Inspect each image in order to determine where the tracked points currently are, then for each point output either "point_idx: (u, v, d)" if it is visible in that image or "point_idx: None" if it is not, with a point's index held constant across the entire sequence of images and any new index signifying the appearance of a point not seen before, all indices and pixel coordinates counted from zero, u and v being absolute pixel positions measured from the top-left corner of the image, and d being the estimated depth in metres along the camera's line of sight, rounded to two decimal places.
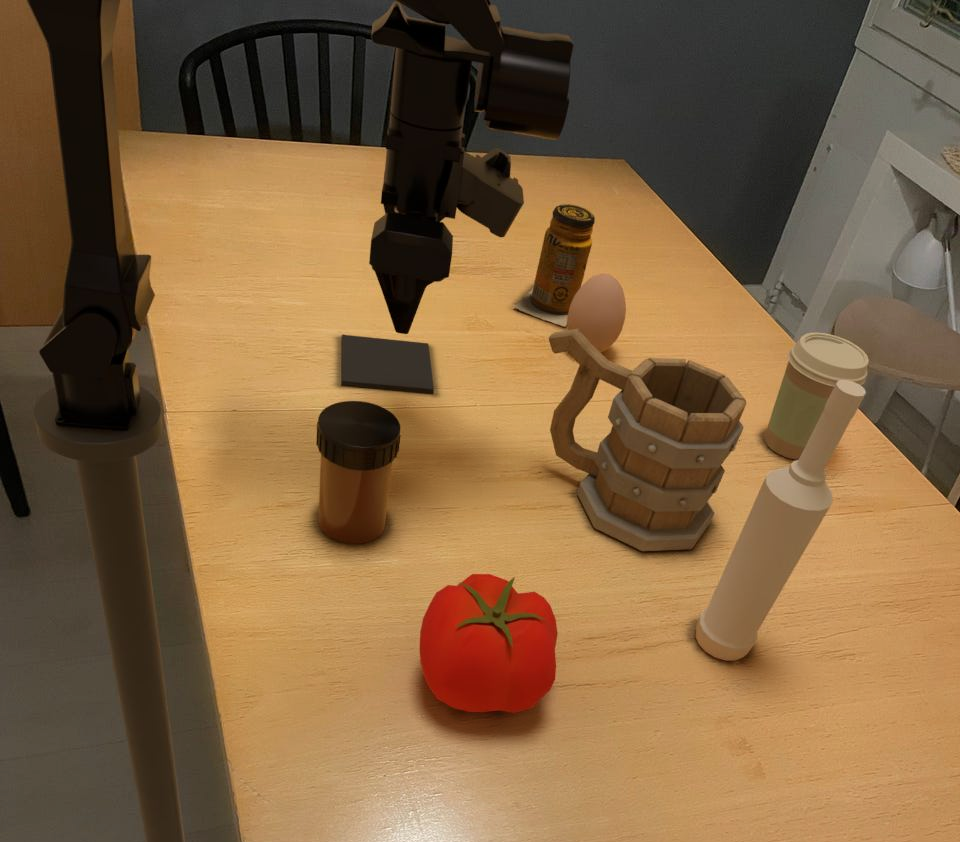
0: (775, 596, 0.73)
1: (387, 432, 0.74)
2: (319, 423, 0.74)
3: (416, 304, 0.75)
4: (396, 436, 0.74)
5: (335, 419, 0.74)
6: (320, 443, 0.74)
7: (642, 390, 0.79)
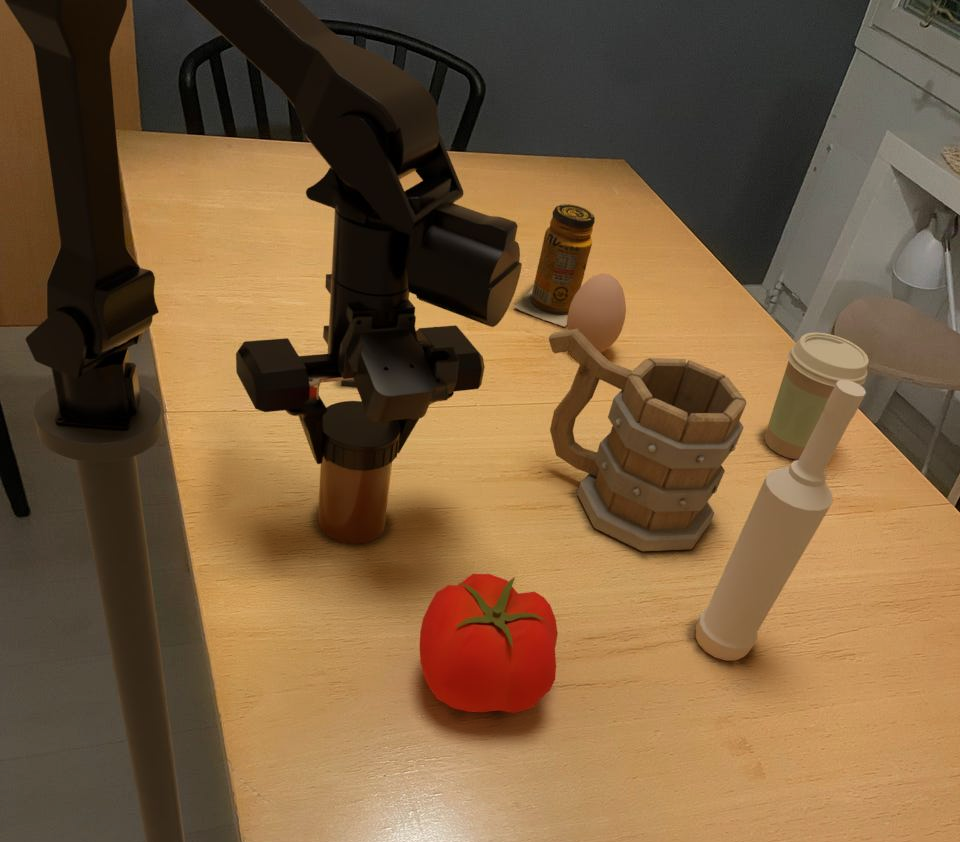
0: (775, 596, 0.73)
1: (387, 432, 0.74)
2: None
3: (309, 435, 0.72)
4: (396, 436, 0.74)
5: (335, 419, 0.74)
6: None
7: (642, 390, 0.79)
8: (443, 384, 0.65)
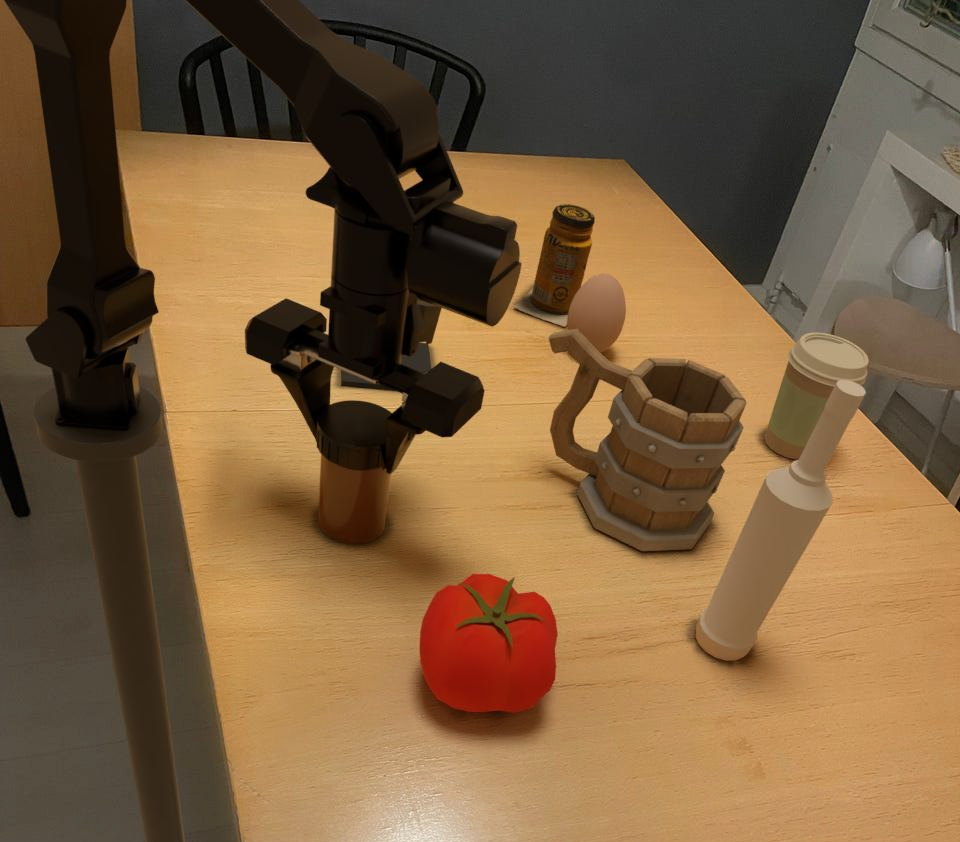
0: (775, 596, 0.73)
1: (351, 406, 0.76)
2: None
3: (413, 438, 0.74)
4: (350, 400, 0.77)
5: (371, 435, 0.73)
6: None
7: (642, 390, 0.79)
8: None
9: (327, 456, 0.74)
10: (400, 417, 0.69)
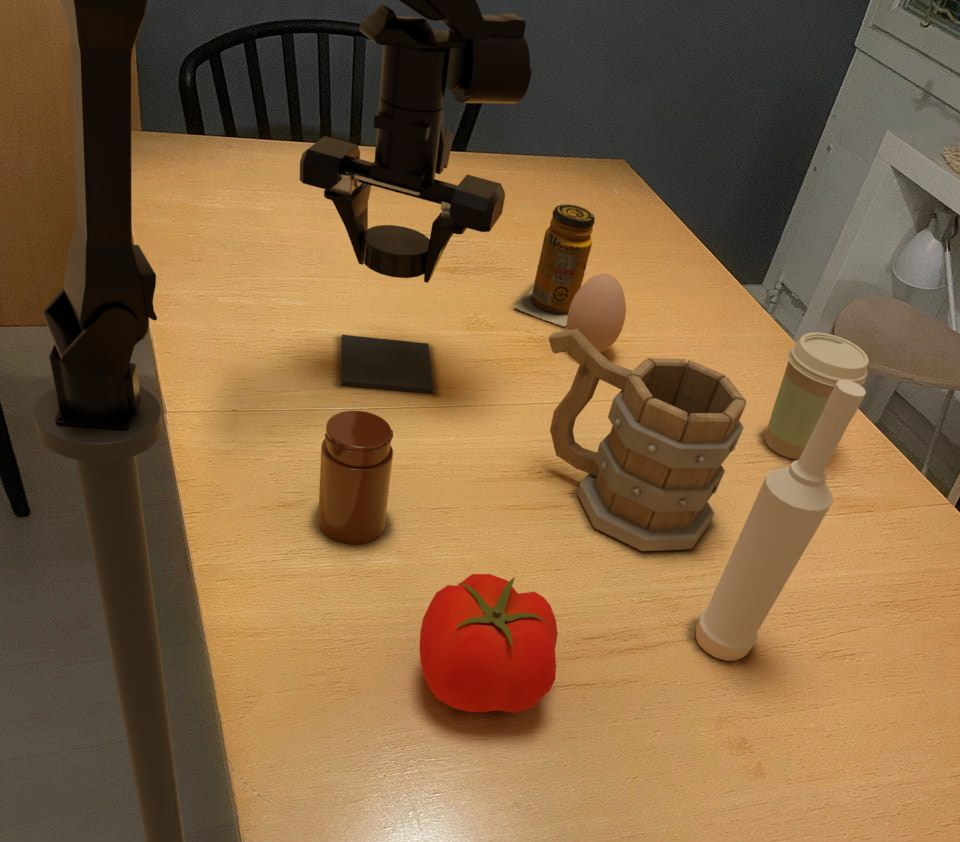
0: (775, 596, 0.73)
1: (386, 228, 0.90)
2: (427, 250, 0.89)
3: None
4: (383, 225, 0.91)
5: (412, 247, 0.88)
6: None
7: (642, 390, 0.79)
8: None
9: (377, 269, 0.88)
10: (442, 222, 0.85)
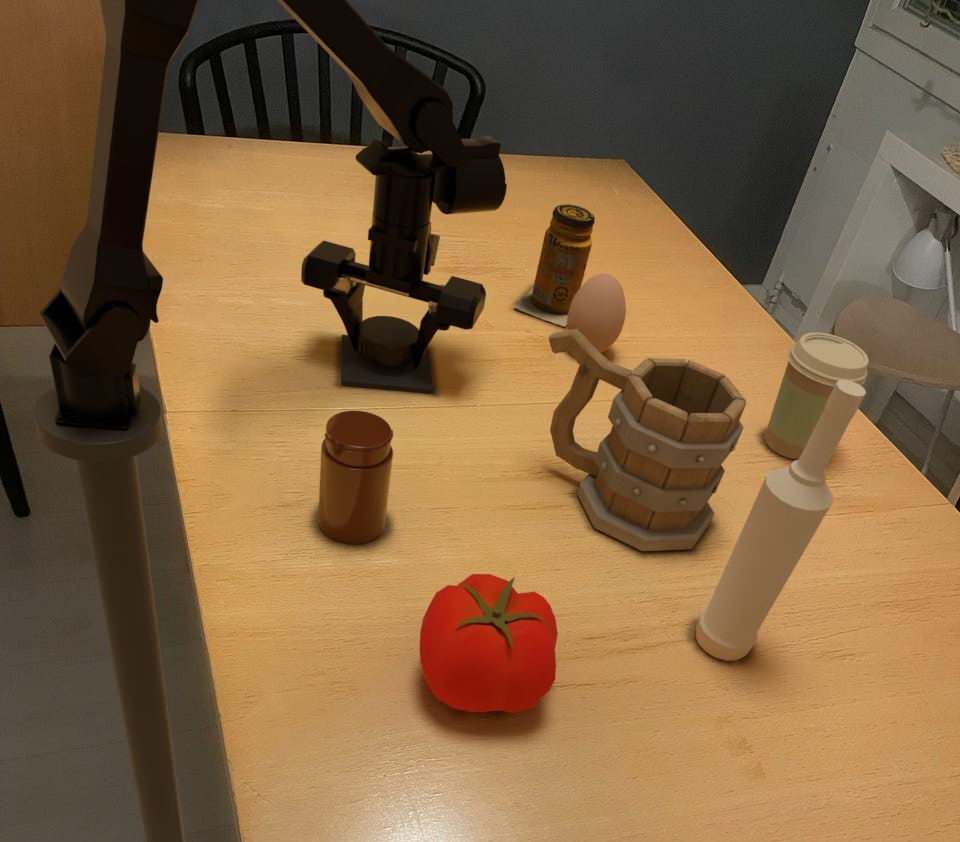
0: (775, 596, 0.73)
1: (379, 319, 1.00)
2: (416, 341, 0.98)
3: None
4: (376, 316, 1.01)
5: (402, 338, 0.98)
6: None
7: (642, 390, 0.79)
8: None
9: (371, 358, 0.98)
10: (430, 319, 0.94)
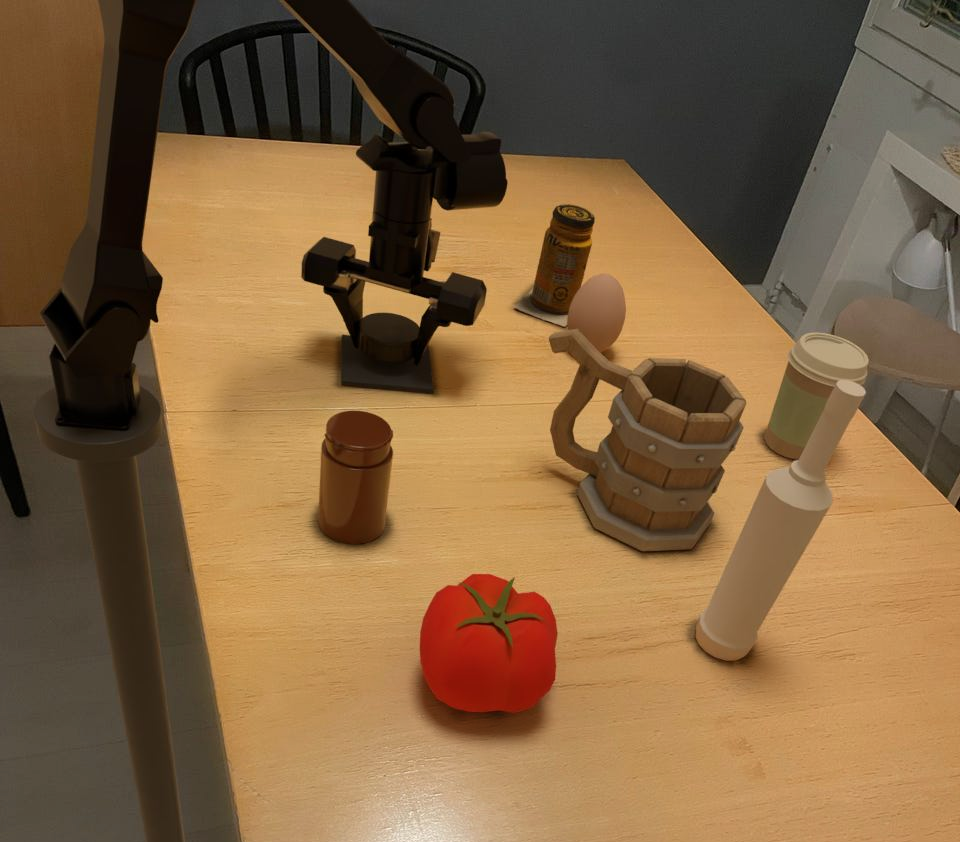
0: (775, 596, 0.73)
1: (379, 316, 1.00)
2: (416, 338, 0.98)
3: None
4: (377, 313, 1.00)
5: (403, 335, 0.98)
6: None
7: (642, 390, 0.79)
8: None
9: (372, 355, 0.98)
10: (430, 316, 0.94)
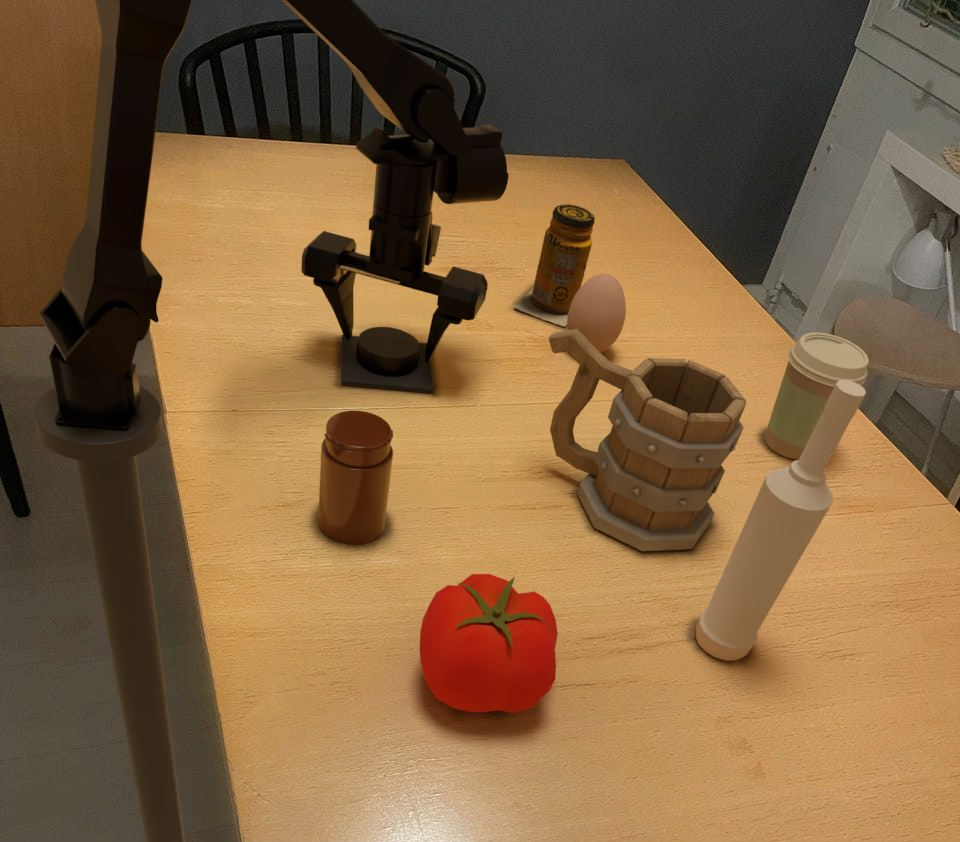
0: (775, 596, 0.73)
1: (378, 331, 1.01)
2: (415, 352, 0.99)
3: None
4: (376, 327, 1.01)
5: (401, 350, 0.99)
6: (417, 360, 1.01)
7: (642, 390, 0.79)
8: None
9: (370, 369, 0.99)
10: (442, 313, 0.93)
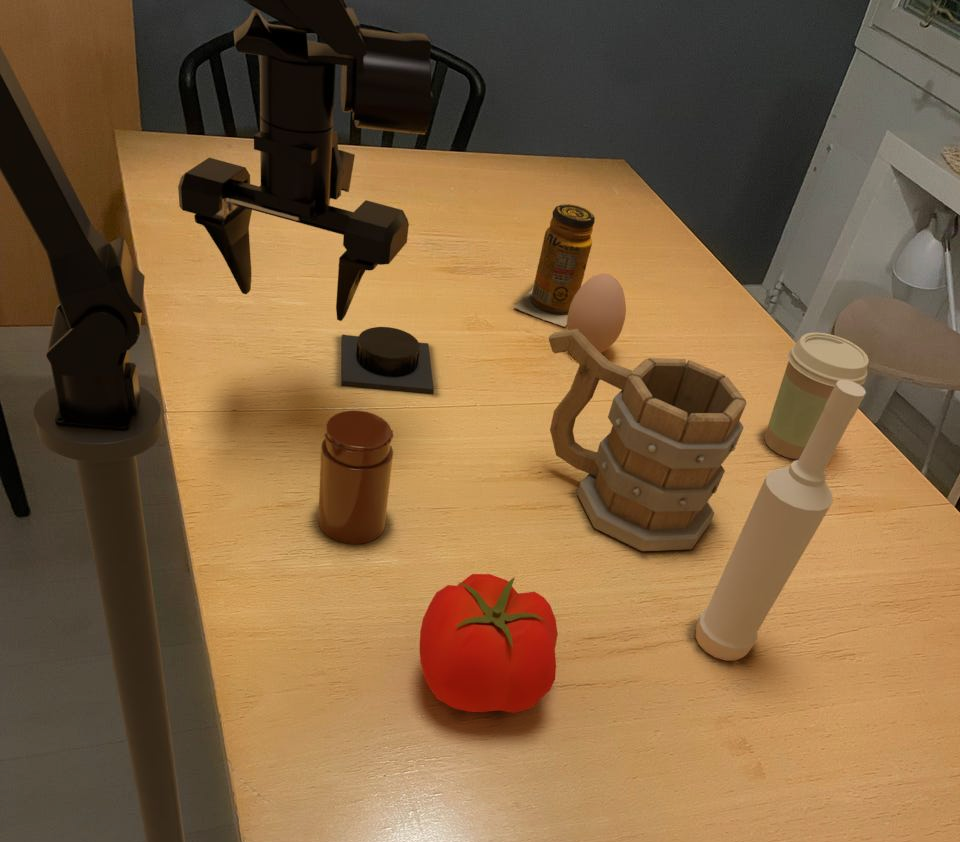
0: (775, 596, 0.73)
1: (378, 331, 1.01)
2: (415, 352, 0.99)
3: None
4: (376, 327, 1.01)
5: (401, 350, 0.99)
6: (417, 360, 1.01)
7: (642, 390, 0.79)
8: None
9: (370, 369, 0.99)
10: (351, 257, 0.76)
